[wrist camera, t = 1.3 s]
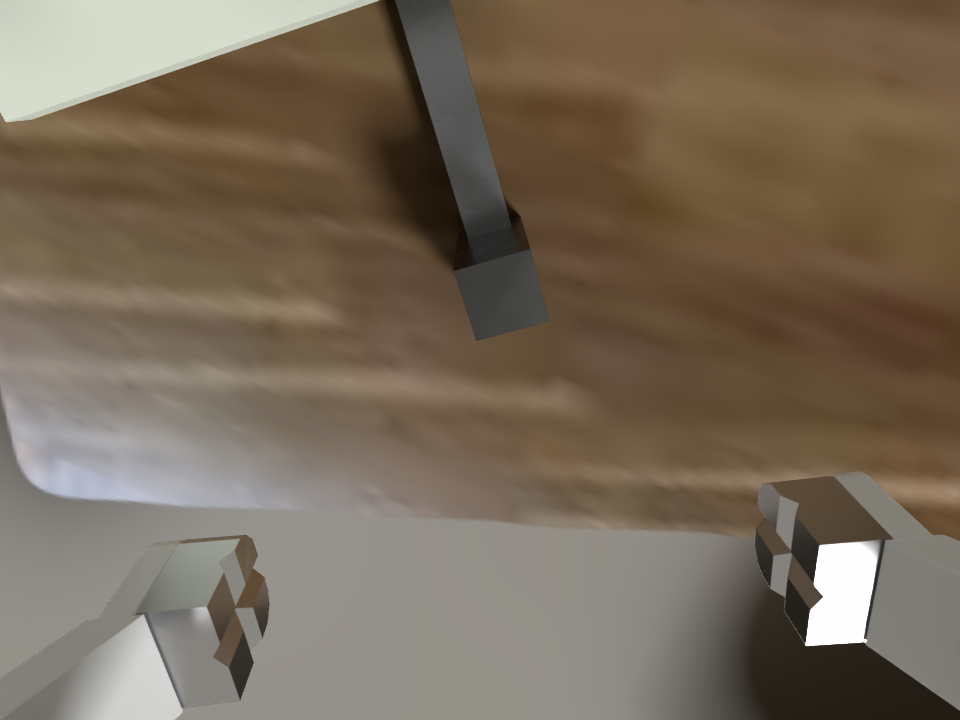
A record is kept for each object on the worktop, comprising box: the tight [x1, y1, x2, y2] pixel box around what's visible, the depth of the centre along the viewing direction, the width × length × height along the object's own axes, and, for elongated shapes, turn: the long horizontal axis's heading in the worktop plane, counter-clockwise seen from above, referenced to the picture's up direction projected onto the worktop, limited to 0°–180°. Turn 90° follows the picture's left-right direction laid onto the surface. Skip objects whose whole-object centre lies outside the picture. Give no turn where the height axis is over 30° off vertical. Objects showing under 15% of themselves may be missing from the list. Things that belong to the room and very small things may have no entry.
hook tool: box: [395, 0, 549, 341], centre depth 25 cm, size 8×18×6 cm, turn 16°
